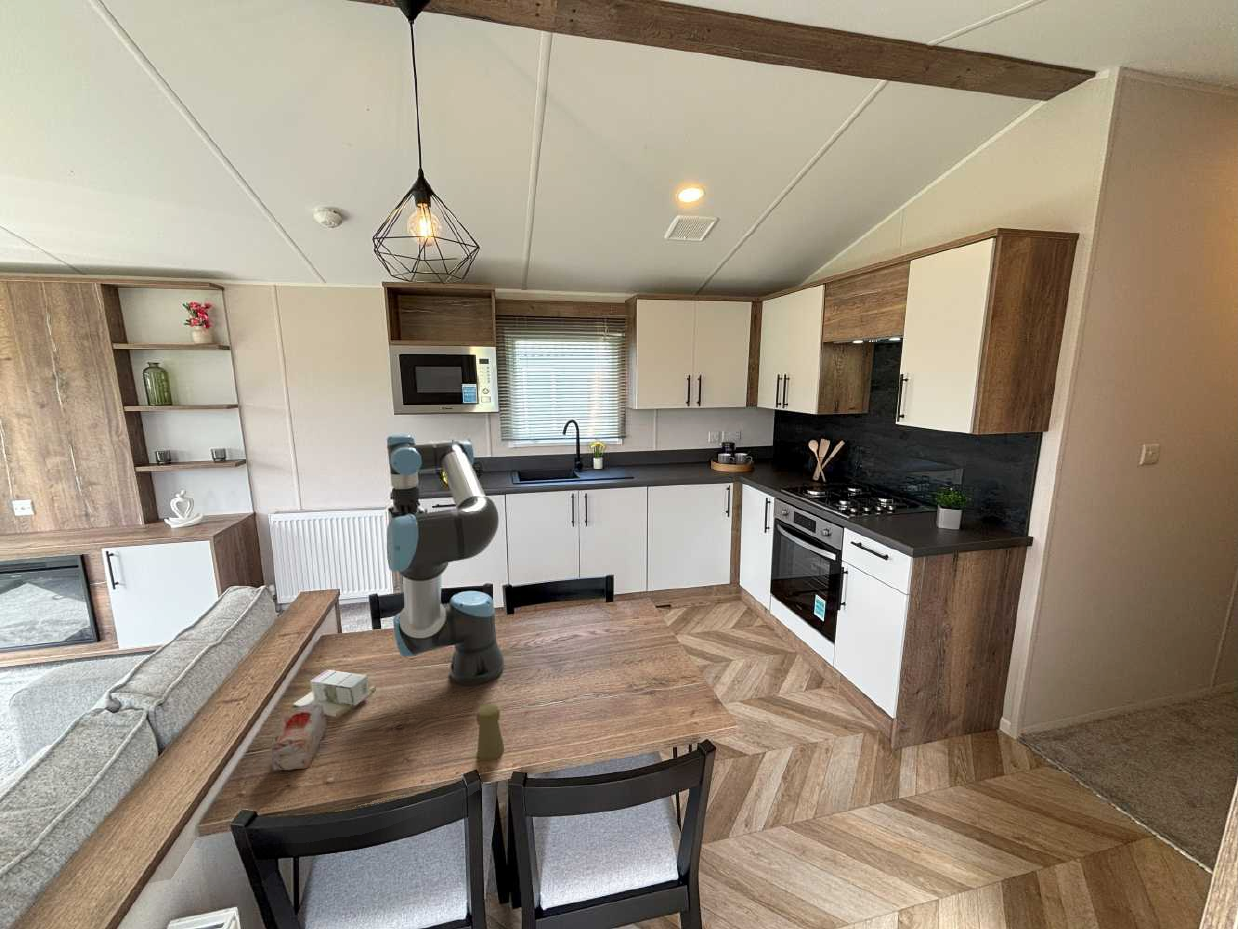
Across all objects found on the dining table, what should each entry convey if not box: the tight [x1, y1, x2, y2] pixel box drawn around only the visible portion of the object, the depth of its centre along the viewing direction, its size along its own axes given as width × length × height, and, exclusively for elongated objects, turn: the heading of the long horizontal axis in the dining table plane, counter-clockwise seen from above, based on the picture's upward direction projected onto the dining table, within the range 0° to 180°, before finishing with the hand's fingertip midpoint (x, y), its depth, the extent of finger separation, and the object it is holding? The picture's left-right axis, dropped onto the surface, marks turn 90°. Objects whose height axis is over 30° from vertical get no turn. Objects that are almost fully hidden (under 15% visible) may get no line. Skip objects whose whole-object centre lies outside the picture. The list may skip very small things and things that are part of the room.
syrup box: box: [310, 669, 372, 707], centre depth 132 cm, size 6×6×14 cm
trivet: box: [292, 685, 377, 719], centre depth 134 cm, size 16×12×1 cm
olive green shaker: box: [476, 703, 505, 762], centre depth 113 cm, size 6×6×11 cm
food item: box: [269, 704, 327, 772], centre depth 114 cm, size 14×8×10 cm, turn 15°
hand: (412, 559), depth 153 cm, fingers closed
